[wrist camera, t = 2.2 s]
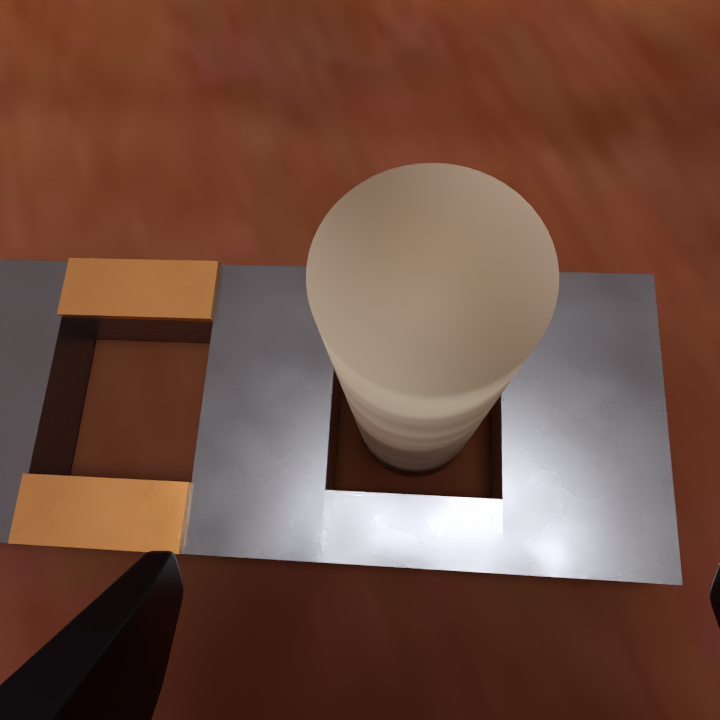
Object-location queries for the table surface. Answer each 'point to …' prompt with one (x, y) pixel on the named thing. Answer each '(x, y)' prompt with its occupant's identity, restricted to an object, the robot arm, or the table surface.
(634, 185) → the table surface
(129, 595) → the robot arm
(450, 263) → the birch peg
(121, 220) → the table surface
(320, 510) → the grey peg hole board
